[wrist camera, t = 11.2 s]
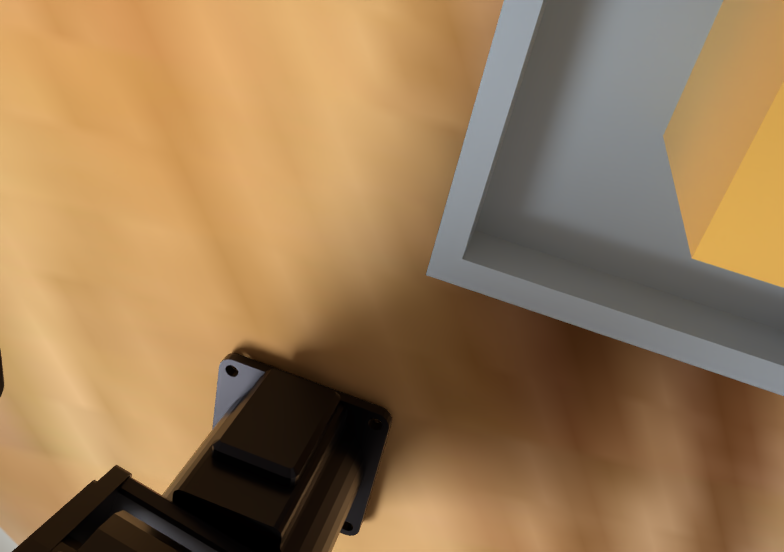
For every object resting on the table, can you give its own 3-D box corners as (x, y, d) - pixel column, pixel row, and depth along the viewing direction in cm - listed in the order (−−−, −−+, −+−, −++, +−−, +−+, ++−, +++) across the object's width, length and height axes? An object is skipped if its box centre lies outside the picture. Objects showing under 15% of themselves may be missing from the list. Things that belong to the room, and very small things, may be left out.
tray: (842, 368, 19) (872, 425, 17) (444, 237, 20) (425, 274, 18) (1272, -227, 12) (1415, -257, 10) (619, -359, 13) (620, -410, 11)
